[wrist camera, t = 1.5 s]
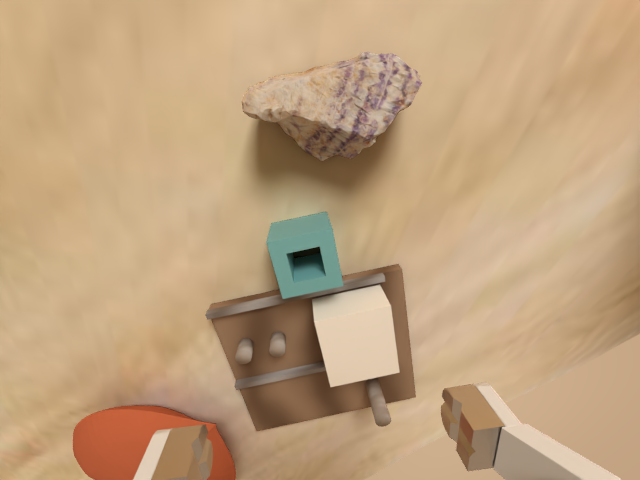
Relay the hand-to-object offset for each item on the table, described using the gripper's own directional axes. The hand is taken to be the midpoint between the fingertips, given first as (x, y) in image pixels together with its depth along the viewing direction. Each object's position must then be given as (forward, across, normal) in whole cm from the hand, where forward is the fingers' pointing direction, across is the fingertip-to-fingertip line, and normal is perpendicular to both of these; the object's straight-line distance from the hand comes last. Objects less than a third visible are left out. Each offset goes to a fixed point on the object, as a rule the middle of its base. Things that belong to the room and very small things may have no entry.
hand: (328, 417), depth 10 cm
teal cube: (+20, 0, +1) cm, 20 cm away
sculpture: (+21, +17, +24) cm, 37 cm away
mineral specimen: (+20, -4, -11) cm, 23 cm away
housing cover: (+19, -4, +10) cm, 22 cm away
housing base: (+20, -1, +15) cm, 25 cm away
